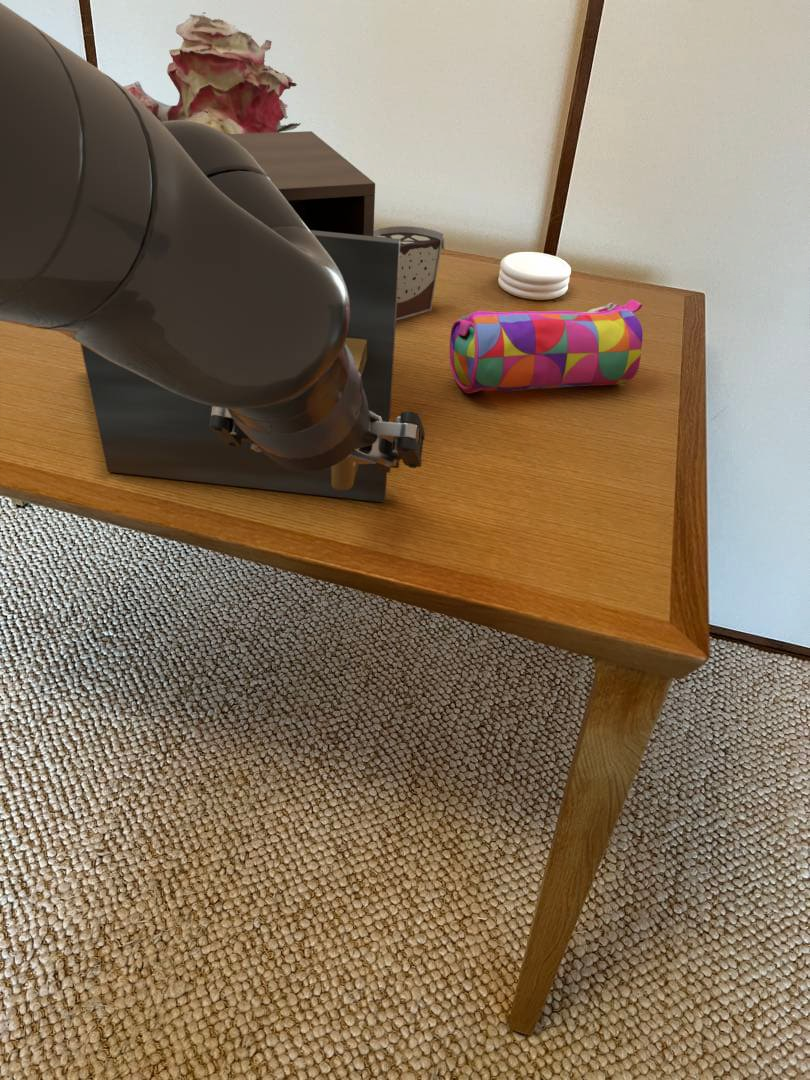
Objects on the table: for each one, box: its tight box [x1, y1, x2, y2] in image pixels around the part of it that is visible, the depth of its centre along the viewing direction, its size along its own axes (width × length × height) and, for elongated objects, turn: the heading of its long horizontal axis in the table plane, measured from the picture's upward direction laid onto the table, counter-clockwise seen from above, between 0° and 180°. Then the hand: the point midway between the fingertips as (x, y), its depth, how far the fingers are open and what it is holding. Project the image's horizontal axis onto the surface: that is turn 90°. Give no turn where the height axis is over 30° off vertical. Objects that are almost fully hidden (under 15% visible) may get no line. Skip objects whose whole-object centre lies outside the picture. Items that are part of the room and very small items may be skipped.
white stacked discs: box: [497, 251, 572, 301], centre depth 116 cm, size 10×10×4 cm
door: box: [81, 230, 400, 503], centre depth 65 cm, size 8×26×24 cm, turn 84°
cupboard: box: [79, 130, 376, 405], centre depth 80 cm, size 18×26×24 cm
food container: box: [373, 225, 446, 322], centre depth 105 cm, size 12×6×10 cm, turn 130°
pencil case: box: [449, 298, 644, 395], centre depth 92 cm, size 22×9×9 cm, turn 108°
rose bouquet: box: [122, 12, 302, 134], centre depth 108 cm, size 26×29×30 cm
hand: (333, 453), depth 63 cm, fingers open, 8 cm apart
